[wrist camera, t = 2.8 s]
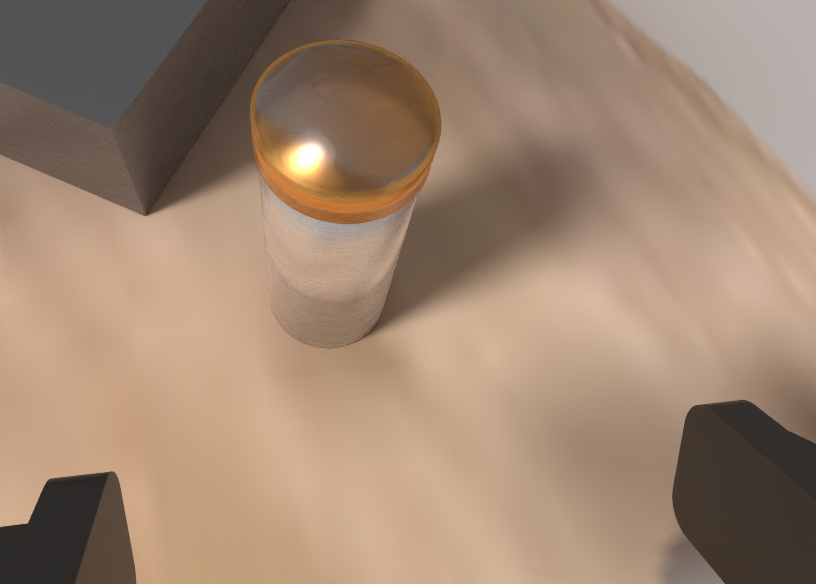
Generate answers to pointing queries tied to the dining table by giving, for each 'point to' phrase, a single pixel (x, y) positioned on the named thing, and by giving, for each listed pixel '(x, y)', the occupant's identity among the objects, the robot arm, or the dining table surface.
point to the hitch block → (119, 85)
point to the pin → (338, 181)
